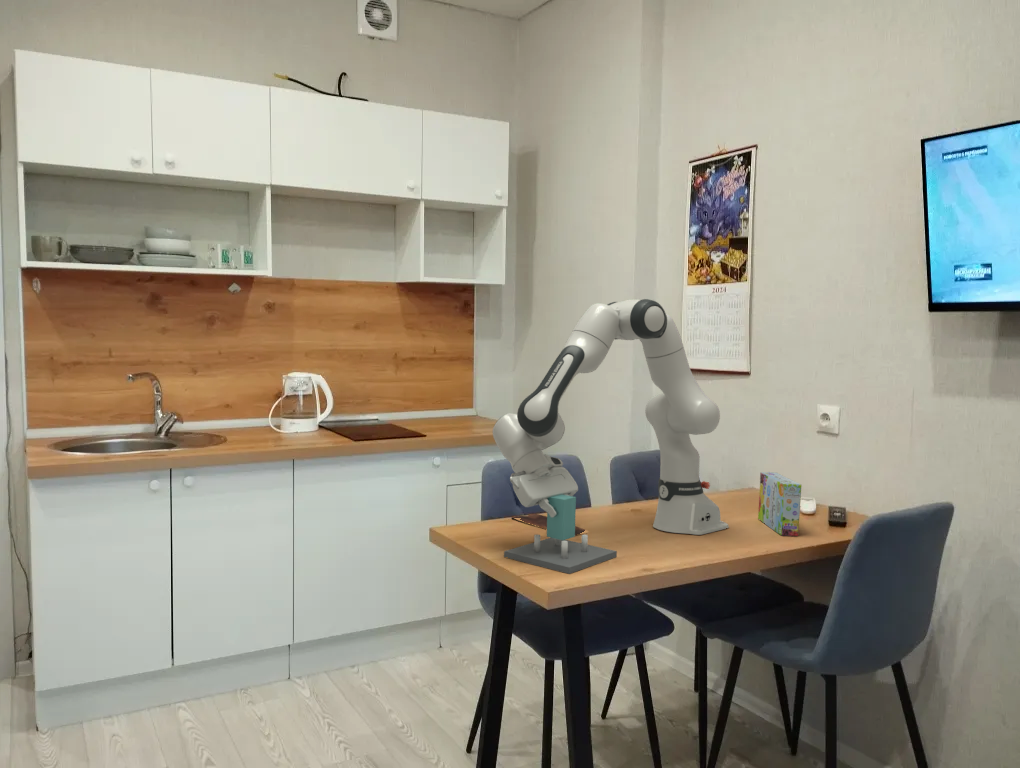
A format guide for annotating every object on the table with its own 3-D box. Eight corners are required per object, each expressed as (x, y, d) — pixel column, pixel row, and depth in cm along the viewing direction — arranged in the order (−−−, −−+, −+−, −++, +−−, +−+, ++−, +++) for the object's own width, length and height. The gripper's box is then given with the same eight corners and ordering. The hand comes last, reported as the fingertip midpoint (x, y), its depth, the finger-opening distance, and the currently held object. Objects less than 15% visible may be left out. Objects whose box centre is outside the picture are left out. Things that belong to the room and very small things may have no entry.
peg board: (552, 542, 210) (553, 522, 210) (616, 556, 197) (617, 535, 197) (503, 557, 195) (504, 535, 194) (569, 573, 182) (570, 550, 182)
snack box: (800, 536, 222) (802, 484, 221) (780, 536, 222) (782, 483, 221) (774, 519, 243) (776, 471, 242) (756, 519, 243) (758, 471, 242)
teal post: (558, 533, 199) (559, 494, 199) (574, 536, 196) (575, 497, 195) (546, 536, 195) (547, 496, 195) (562, 540, 192) (564, 499, 192)
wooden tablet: (595, 528, 222) (569, 529, 216) (594, 536, 222) (568, 537, 216) (534, 512, 243) (509, 512, 237) (533, 519, 243) (508, 519, 237)
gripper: (514, 466, 191) (545, 512, 185) (564, 458, 207) (594, 500, 201) (500, 482, 194) (529, 528, 189) (550, 472, 210) (579, 515, 204)
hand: (563, 513), depth 195 cm, fingers closed on teal post, 5 cm apart
